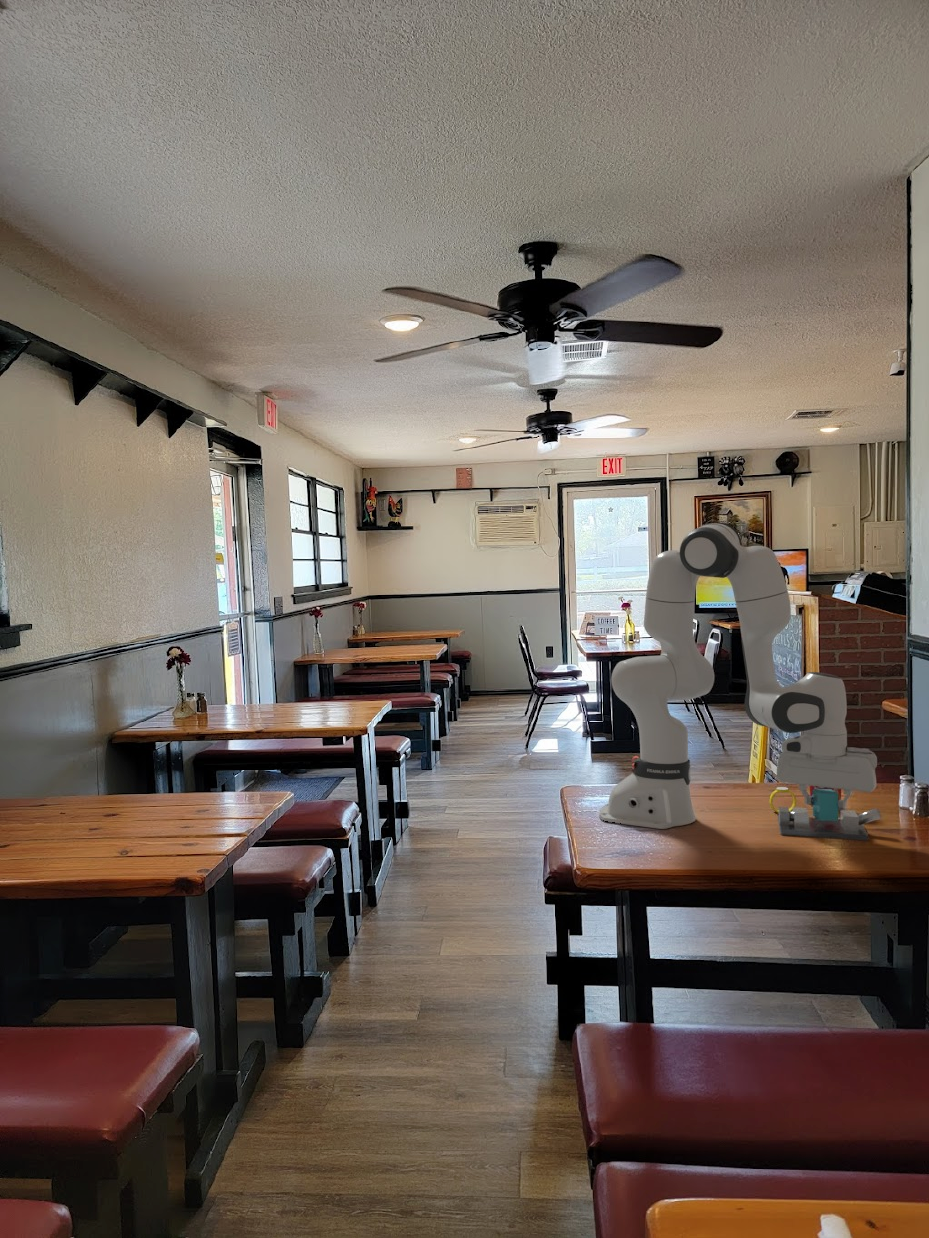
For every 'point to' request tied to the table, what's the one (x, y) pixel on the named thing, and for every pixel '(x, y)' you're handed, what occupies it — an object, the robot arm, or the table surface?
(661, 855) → the table surface
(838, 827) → the shaft frame
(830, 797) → the block
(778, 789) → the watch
